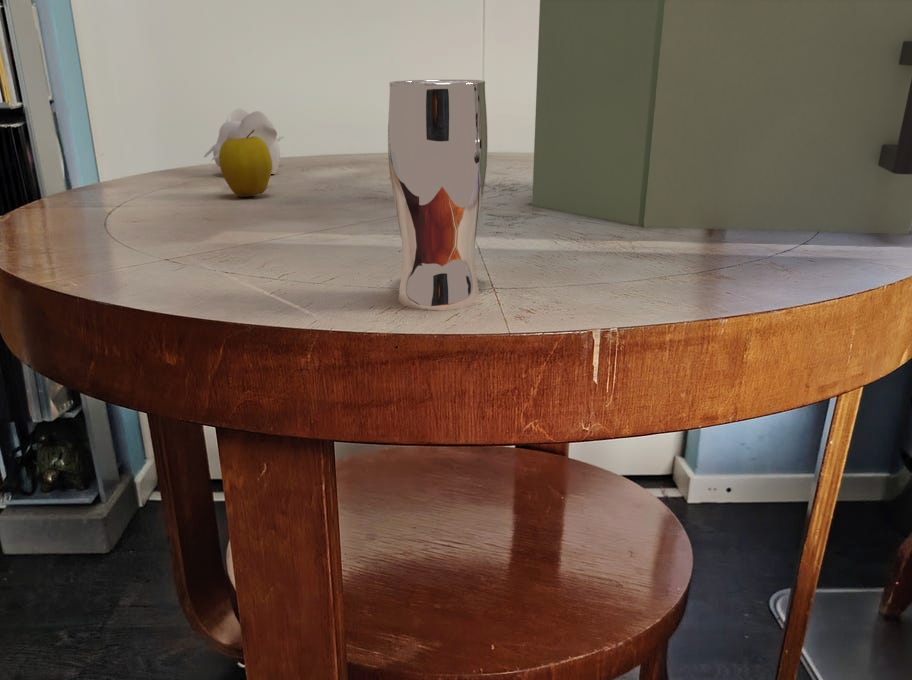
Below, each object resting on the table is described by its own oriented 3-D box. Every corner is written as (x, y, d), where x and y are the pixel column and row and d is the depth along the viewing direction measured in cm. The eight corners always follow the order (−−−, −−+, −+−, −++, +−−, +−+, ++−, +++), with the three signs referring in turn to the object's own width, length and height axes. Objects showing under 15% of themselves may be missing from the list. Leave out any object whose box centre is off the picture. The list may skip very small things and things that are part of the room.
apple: (285, 195, 116) (279, 128, 112) (247, 202, 111) (239, 132, 107) (251, 191, 119) (245, 126, 115) (213, 197, 115) (205, 130, 111)
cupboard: (788, 211, 101) (829, -38, 90) (636, 237, 89) (662, -47, 78) (678, 194, 113) (702, -28, 102) (531, 215, 100) (540, -35, 89)
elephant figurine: (200, 173, 136) (192, 109, 132) (276, 168, 141) (271, 106, 137) (218, 181, 128) (210, 113, 124) (297, 175, 133) (292, 109, 129)
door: (924, 258, 78) (1000, -62, 67) (643, 250, 83) (672, -53, 72) (903, 242, 84) (970, -54, 73) (642, 235, 89) (668, -46, 78)
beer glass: (428, 285, 72) (425, 78, 65) (502, 297, 68) (507, 79, 62) (373, 304, 67) (364, 82, 60) (451, 318, 63) (450, 84, 57)
